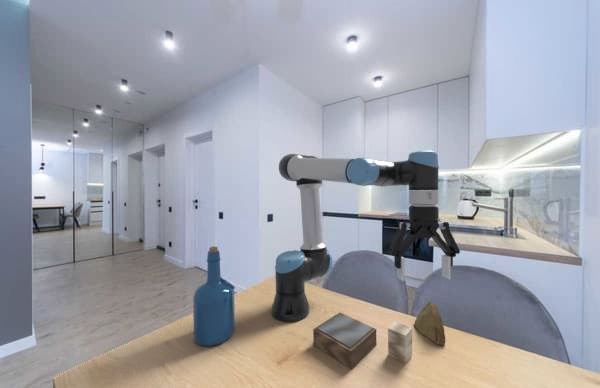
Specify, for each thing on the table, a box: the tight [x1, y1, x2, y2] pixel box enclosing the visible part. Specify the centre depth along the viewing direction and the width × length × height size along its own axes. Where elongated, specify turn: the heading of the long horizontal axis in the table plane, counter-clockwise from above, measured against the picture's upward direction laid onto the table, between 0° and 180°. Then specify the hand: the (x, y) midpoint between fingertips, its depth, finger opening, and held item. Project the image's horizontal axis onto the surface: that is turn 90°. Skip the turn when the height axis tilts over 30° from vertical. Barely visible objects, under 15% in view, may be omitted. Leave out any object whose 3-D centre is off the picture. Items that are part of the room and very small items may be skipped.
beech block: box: [387, 321, 413, 365], centre depth 66 cm, size 5×5×8 cm
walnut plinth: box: [312, 311, 377, 370], centre depth 71 cm, size 14×14×5 cm
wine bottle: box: [192, 246, 236, 347], centre depth 77 cm, size 14×13×30 cm
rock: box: [413, 301, 446, 346], centre depth 75 cm, size 11×9×10 cm
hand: (423, 278), depth 65 cm, fingers open, 13 cm apart
